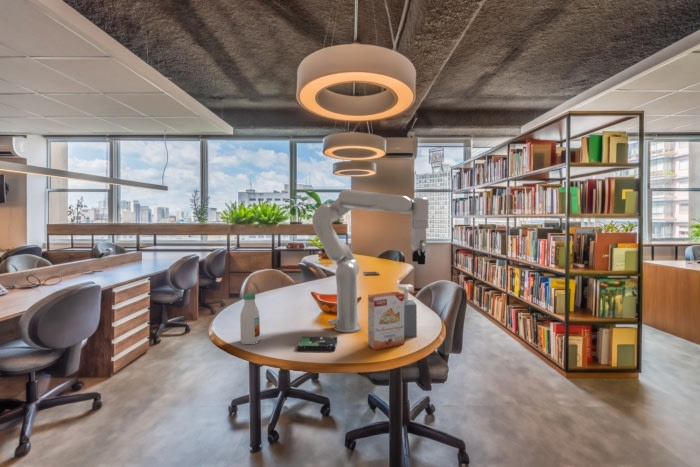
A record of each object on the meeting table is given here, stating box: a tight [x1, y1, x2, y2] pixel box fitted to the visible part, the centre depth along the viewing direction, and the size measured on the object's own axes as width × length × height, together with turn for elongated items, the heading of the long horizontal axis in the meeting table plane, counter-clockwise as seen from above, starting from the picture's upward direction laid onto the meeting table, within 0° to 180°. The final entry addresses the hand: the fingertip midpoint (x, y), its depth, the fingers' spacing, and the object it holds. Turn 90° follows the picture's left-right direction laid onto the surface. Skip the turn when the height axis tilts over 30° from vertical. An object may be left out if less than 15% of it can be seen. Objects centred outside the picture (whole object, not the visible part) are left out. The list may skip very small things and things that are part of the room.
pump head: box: [397, 283, 414, 303], centre depth 138 cm, size 6×9×12 cm, turn 1°
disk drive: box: [296, 335, 338, 353], centre depth 127 cm, size 10×3×15 cm
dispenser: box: [404, 299, 418, 338], centre depth 140 cm, size 8×8×14 cm
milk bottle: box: [239, 293, 261, 345], centre depth 132 cm, size 8×8×20 cm
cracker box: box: [367, 291, 405, 351], centre depth 127 cm, size 14×6×21 cm, turn 114°
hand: (418, 262), depth 142 cm, fingers open, 9 cm apart
